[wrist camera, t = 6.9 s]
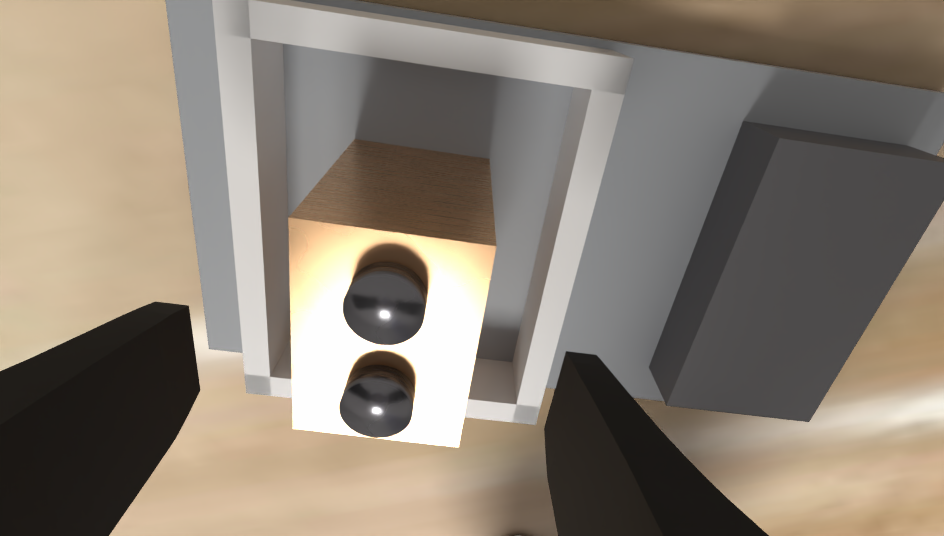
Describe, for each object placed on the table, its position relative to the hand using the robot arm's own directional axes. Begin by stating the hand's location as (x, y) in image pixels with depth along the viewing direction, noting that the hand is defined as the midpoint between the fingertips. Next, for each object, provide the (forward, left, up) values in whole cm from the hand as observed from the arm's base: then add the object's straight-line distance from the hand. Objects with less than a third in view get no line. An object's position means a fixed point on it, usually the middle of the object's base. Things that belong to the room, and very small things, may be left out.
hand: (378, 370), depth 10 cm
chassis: (-3, -2, -8) cm, 9 cm away
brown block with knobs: (0, 0, -7) cm, 7 cm away
